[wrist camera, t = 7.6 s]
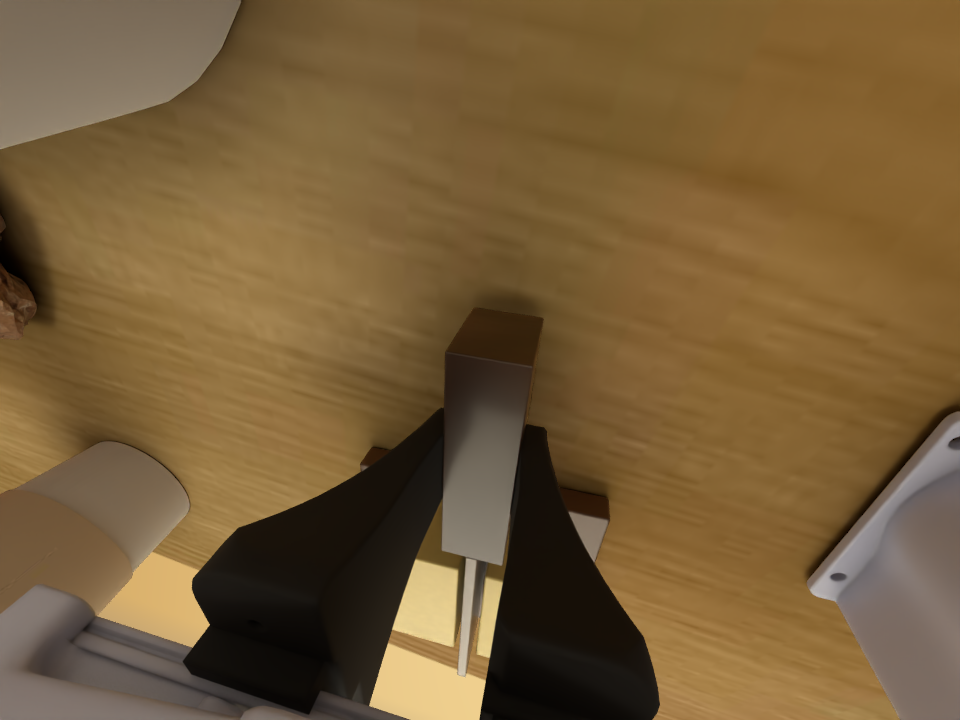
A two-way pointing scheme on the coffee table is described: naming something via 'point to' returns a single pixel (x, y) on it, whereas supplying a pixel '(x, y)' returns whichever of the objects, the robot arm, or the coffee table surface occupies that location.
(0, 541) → the coffee cup
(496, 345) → the knife
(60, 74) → the bowl
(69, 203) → the coffee table surface
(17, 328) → the rock
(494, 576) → the butter slice
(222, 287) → the coffee table surface
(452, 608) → the butter block
